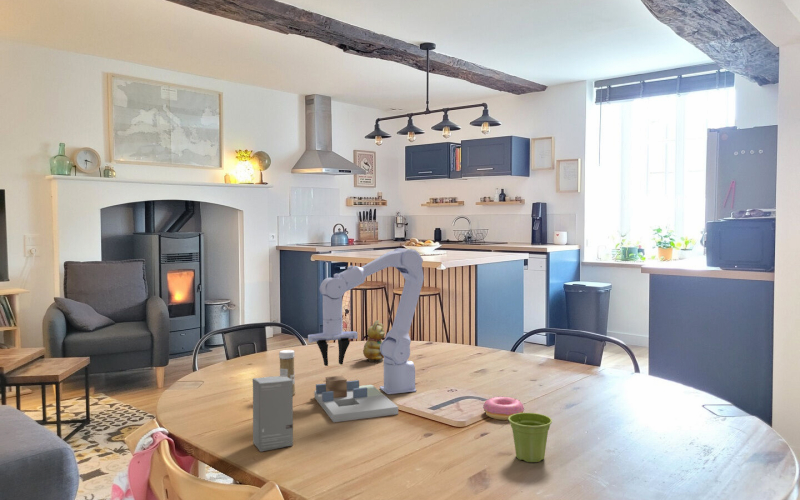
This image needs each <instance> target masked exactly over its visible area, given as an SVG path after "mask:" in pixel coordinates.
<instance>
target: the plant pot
mask: <svg viewBox="0 0 800 500" xmlns="http://www.w3.org/2000/svg"><path fill="white" fill-rule="evenodd" d="M507 421H509V424H510V428H511V430H512V436H513V442H514V443H513V444H514V450H515V455H516V458H517V459H518V460H520V461H521V460H523V461H525V462H526V463H539V462H541V461H542V460H544V459H545V456H546V448H547V441H548V433H549V430H550V427H551V425H552V423H553V419H552V418H551V417H550V416H547V415H545V414H543V413H542V414H541V413H535V412H523V413H517V414H513V415H511V416H509V418H508V420H507Z"/></svg>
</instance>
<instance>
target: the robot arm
mask: <svg viewBox="0 0 800 500" xmlns="http://www.w3.org/2000/svg"><path fill="white" fill-rule="evenodd" d="M423 262H424V259H423V258H422V256H421V254H420V253H419V252H418V251H417V250H416V249H414V248H402V247H398V248H397V247H396V248H395V249H393V250H389V251H387V252H386V253H384V254H382V255H380V256H379V257H376V258H375V259H373V260H372V261H370V262H367V263H366V264H364V265H362V266H361V267H360V266H357V265H348V266H347V269H345V270H344V271H341V272H339V273H334V274H333V277H326V278H325V279H323V280H322V282H321V283H320V286H319V288H318V289H319V292H320V294H321V295H322V332H320V333H319V332H318V333H313V334H308V335H307V341H308V343H309V344H310V343H313V342H315V343H316V344H317V346H318V348H319V351H320V353H321V357H322V360H323V365H324V366H326V367H328V366H329V357H328V352H329V351H328V350H329V348H328V347H329V344H328V343H327V341H337V344H338V345H337V346H338V364H340V365H344V358H345V356H346V355H345V354H346V352H347V350H348V347H349V345H350V343H351V341H350V339H352V340H353V339H354V340H357V339H358V338H359V337H358V332H357V331H354V330H353V331H343V330H344V329H343V326H344V325H343V296H344V294H345V293H346V292H348V291H350V290H351V289H354V288H356V287H358V286H360V285H362V284H364V283H365V280H366V278H367V277H369V276H371V275H373V274H375V273H377V272H380V271H382V270H385V269H386V268H390V267H391V268H395V269H397V270H398V271H399V272H400V273H401V275H402V277H403V279H404V280H405V282H404V285H403V287H402V292H401V295H400V298H399V303H398V305H397V309H396V312H395V316H394V321H393V323H392V327H391V329H389V331H388V332H387V333H386V334H385V338H384V340H382V343H381V346H380V352H381V354H382V355H383V356H384V358H383V385H380V386H379V389H380V390H381V391H382V392H384V393H385V394H386V395H395V394H402V393H403V394H404V393H411V392H417V389H416V366H415V364H414V362H413V361H412V360H409V358H410V356H411V343H412V341H411V337H410V335H409V333H410V330H411V325H412V323H413V320H414V315H415V312H416V308H417V305H418V301H419V297H420V294H421V292H422V287H423V283H424V279H425V277H424V269H423Z"/></svg>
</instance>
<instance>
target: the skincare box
mask: <svg viewBox="0 0 800 500" xmlns="http://www.w3.org/2000/svg"><path fill="white" fill-rule="evenodd" d="M293 396H294V395H293V384H292V380H291V379H290V378H288V377H286V376H280V375H277V376H276V375H275V376H271V375H270V376H264V377H256V378H255V377H253V378H252V443H253V444H254V446H255V447H256V448H257V449H258V450H259V452H260V453H261V452H265V451H266V452H267V451H271V450H277V449H281V448H287V447H292V446H293V445H294V433H293V432H294V419H293V417H294V412H293V411H294V409H293V408H294V407H293V401H294V398H293Z"/></svg>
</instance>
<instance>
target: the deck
mask: <svg viewBox="0 0 800 500" xmlns="http://www.w3.org/2000/svg"><path fill="white" fill-rule="evenodd" d="M313 394H314V395H313V396H314V399H315V400H316V402H317V403H318V404H319V405H320V406H321V408H322V409H323V410H324V412H325V413H326V414H327V416H328V417H329V419H330V420H331V421H332V422H333V423H338V422H347V421H355V420H363V419H371V418H377V417H385V416H393V415H399V406H398V405H397V404H395V402H393V401H392V400H391V399H389V398H388V396H386V395H385V394H384V393H382V392H381V391H380V390H379V389H378V388H377V387H376V386H375V385H373V384H365V385H364V384H363V385H360V380H358V379H356V380H347V397H340V398H333V391H327V392H326V382H325V383H320V384H319V383H317V384H315V390H314V393H313Z"/></svg>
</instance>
